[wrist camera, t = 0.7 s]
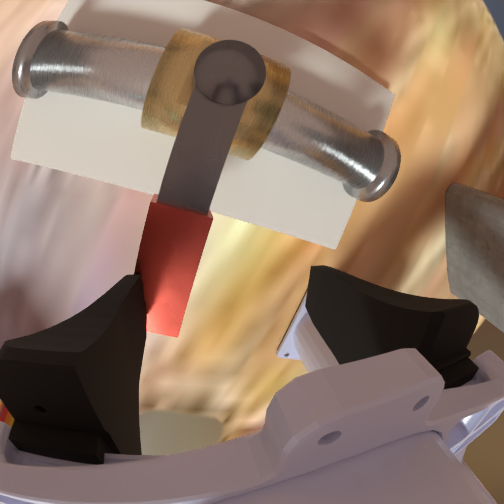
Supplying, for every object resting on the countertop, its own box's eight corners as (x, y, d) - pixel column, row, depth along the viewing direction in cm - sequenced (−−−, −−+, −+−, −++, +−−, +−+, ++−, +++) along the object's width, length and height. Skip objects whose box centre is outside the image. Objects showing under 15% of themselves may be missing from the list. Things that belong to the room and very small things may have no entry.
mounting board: (383, 95, 20) (394, 94, 19) (327, 243, 24) (335, 250, 23) (85, -11, 12) (80, -19, 10) (19, 156, 16) (10, 158, 14)
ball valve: (367, 130, 20) (435, 136, 14) (341, 198, 22) (402, 227, 15) (68, 28, 12) (25, -10, 6) (37, 105, 14) (-22, 98, 7)
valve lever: (206, 42, 9) (209, 29, 8) (264, 63, 10) (276, 54, 9) (127, 306, 13) (123, 326, 12) (179, 317, 14) (180, 338, 12)
